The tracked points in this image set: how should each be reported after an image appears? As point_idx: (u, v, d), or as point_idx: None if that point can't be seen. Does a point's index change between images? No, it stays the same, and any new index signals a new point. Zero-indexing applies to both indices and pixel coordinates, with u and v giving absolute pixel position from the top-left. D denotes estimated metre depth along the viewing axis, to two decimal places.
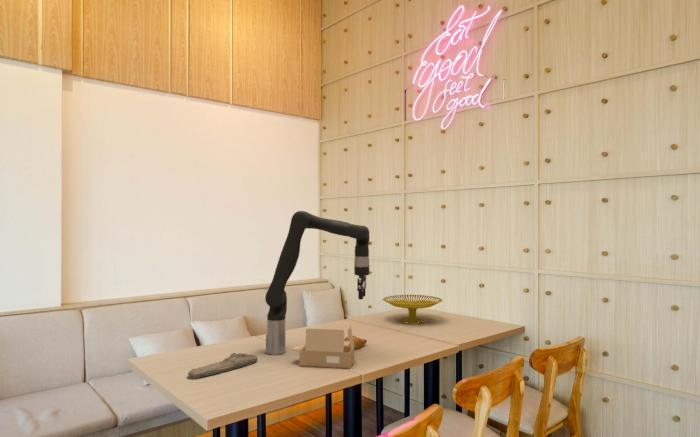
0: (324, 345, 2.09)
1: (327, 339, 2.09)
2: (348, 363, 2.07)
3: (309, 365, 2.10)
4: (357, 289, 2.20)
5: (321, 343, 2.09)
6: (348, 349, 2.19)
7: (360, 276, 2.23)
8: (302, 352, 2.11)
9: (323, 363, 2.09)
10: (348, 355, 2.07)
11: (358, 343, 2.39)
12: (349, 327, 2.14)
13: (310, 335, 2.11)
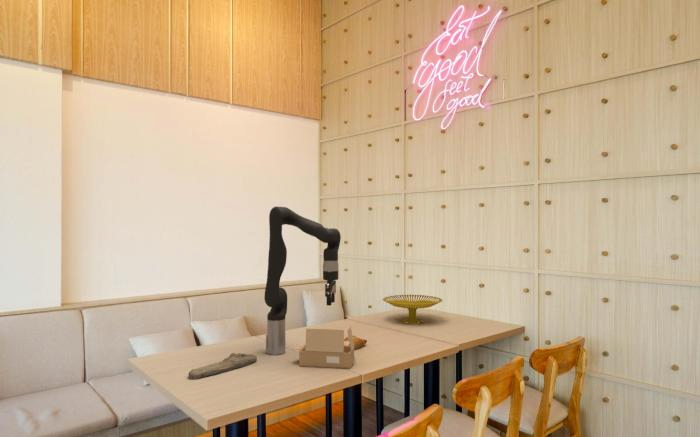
0: (324, 345, 2.09)
1: (327, 339, 2.09)
2: (348, 363, 2.07)
3: (309, 365, 2.10)
4: (325, 295, 2.12)
5: (321, 343, 2.09)
6: (348, 349, 2.19)
7: (328, 281, 2.15)
8: (302, 352, 2.11)
9: (323, 363, 2.09)
10: (348, 355, 2.07)
11: (358, 343, 2.39)
12: (349, 327, 2.14)
13: (310, 335, 2.11)
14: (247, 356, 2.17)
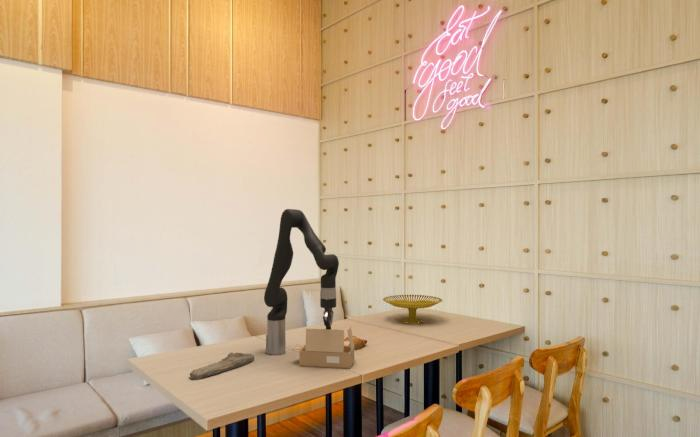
0: (324, 345, 2.09)
1: (327, 339, 2.09)
2: (348, 363, 2.07)
3: (309, 365, 2.10)
4: (324, 324, 2.10)
5: (321, 343, 2.09)
6: (348, 349, 2.19)
7: (326, 309, 2.09)
8: (302, 352, 2.11)
9: (323, 363, 2.09)
10: (348, 355, 2.07)
11: (358, 343, 2.39)
12: (349, 327, 2.14)
13: (310, 335, 2.11)
14: (245, 355, 2.19)
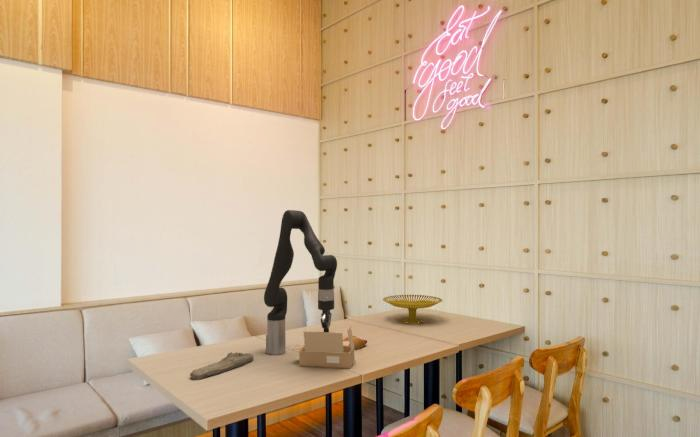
0: (323, 346, 2.08)
1: (326, 341, 2.07)
2: (348, 363, 2.07)
3: (309, 365, 2.10)
4: (322, 326, 2.05)
5: (321, 345, 2.08)
6: (348, 349, 2.19)
7: (324, 311, 2.04)
8: (302, 352, 2.11)
9: (323, 363, 2.09)
10: (348, 355, 2.07)
11: (358, 343, 2.38)
12: (349, 327, 2.14)
13: (308, 337, 2.08)
14: (244, 355, 2.19)
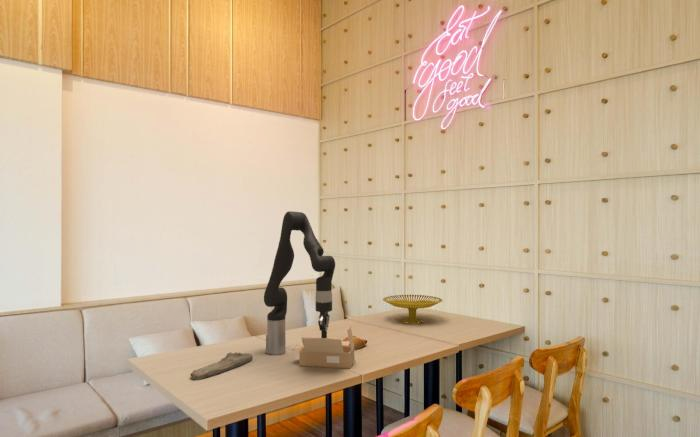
0: (322, 348, 2.07)
1: (325, 345, 2.05)
2: (348, 363, 2.07)
3: (309, 365, 2.10)
4: None
5: (320, 347, 2.06)
6: (348, 349, 2.19)
7: (321, 313, 2.00)
8: (302, 352, 2.11)
9: (323, 363, 2.09)
10: (348, 355, 2.07)
11: (358, 343, 2.38)
12: (349, 327, 2.14)
13: (307, 342, 2.05)
14: (243, 355, 2.19)
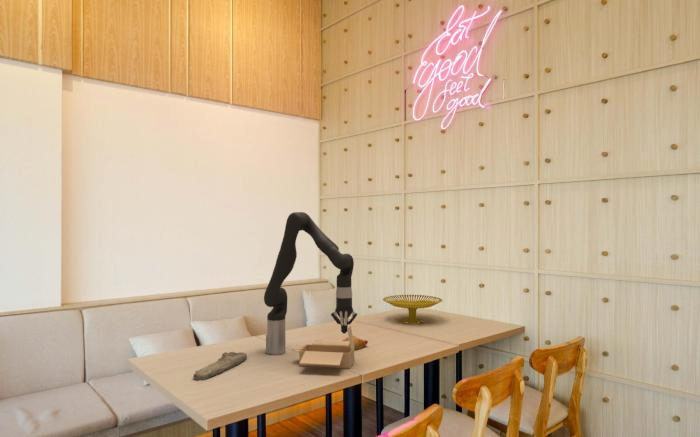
0: None
1: None
2: (348, 363, 2.07)
3: (309, 365, 2.10)
4: (350, 322, 2.12)
5: None
6: (348, 349, 2.19)
7: (351, 307, 2.13)
8: (302, 352, 2.11)
9: None
10: (348, 355, 2.07)
11: (358, 344, 2.38)
12: (349, 327, 2.14)
13: None
14: (238, 354, 2.21)
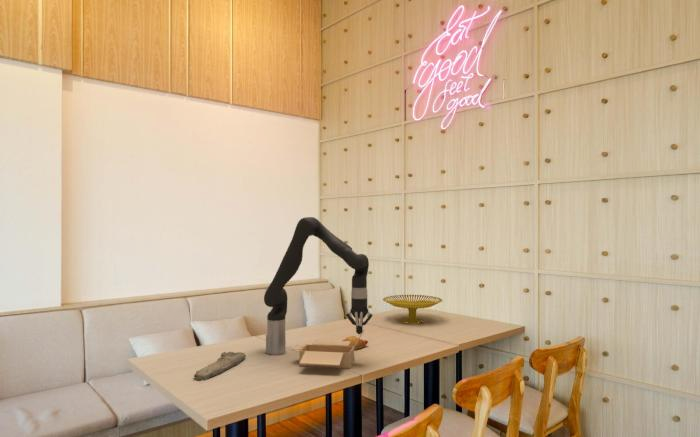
0: None
1: None
2: (348, 363, 2.07)
3: (309, 365, 2.10)
4: (365, 323, 2.11)
5: None
6: (348, 349, 2.19)
7: (367, 308, 2.12)
8: (302, 352, 2.11)
9: None
10: (348, 355, 2.07)
11: (358, 344, 2.37)
12: (363, 330, 2.13)
13: None
14: (237, 354, 2.21)
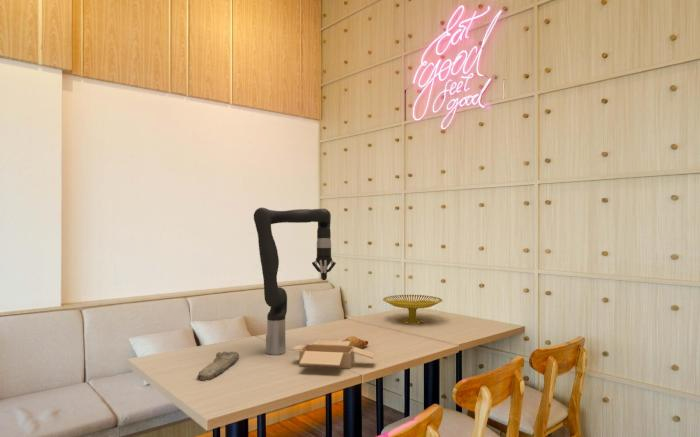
0: None
1: None
2: (348, 363, 2.07)
3: (309, 365, 2.10)
4: (329, 270, 2.34)
5: None
6: (348, 349, 2.19)
7: (330, 256, 2.35)
8: (302, 352, 2.11)
9: None
10: (348, 355, 2.07)
11: (358, 344, 2.37)
12: (373, 355, 2.12)
13: None
14: (231, 353, 2.22)
